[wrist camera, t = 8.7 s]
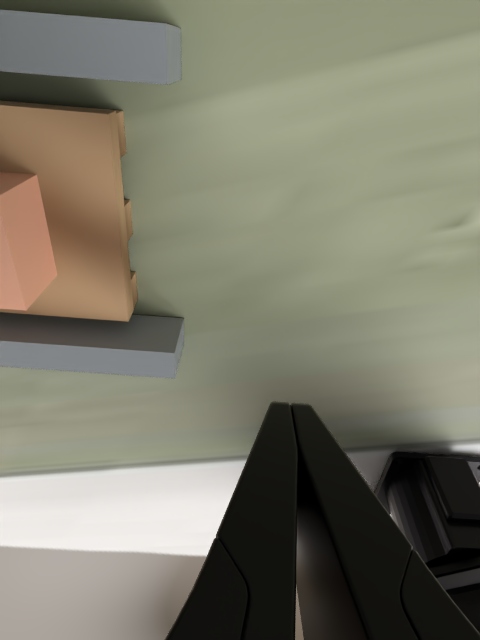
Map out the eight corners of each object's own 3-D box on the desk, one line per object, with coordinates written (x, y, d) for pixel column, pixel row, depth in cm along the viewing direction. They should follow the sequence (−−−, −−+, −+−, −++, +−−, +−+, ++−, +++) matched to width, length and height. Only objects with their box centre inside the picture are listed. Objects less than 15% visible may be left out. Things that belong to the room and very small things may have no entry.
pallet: (139, 298, 21) (128, 321, 19) (-33, 285, 21) (-61, 307, 19) (124, 107, 16) (108, 114, 15) (-101, 88, 16) (-146, 92, 14)
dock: (184, 342, 22) (175, 378, 20) (-63, 324, 22) (-103, 359, 20) (180, 28, 15) (165, 23, 12) (-200, -4, 14) (-296, -15, 12)
